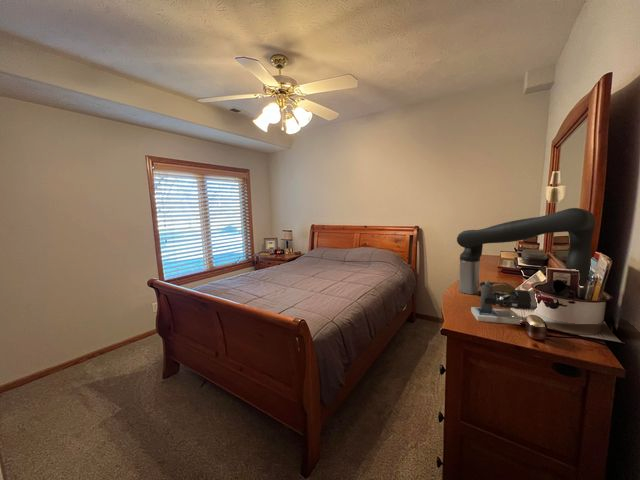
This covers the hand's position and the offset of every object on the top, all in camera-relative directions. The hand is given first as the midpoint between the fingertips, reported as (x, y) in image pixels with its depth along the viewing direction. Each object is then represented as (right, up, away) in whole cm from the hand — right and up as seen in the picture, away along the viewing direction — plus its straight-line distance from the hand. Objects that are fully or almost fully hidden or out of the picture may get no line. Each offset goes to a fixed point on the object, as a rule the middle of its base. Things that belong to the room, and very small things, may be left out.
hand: (481, 297), depth 108 cm
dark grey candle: (+2, -8, 0) cm, 9 cm away
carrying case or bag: (+30, -4, +35) cm, 47 cm away
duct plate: (+5, -8, -1) cm, 10 cm away
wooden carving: (+18, -6, +14) cm, 24 cm away
